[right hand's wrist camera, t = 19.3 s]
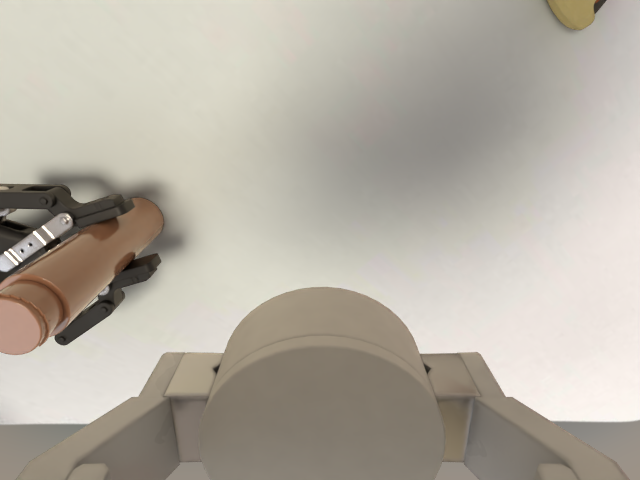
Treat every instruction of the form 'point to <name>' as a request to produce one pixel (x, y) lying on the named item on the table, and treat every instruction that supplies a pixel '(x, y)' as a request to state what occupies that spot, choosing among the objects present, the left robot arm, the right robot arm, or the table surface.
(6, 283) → the jar
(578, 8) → the toy gun
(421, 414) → the lid
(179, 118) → the table surface
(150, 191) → the table surface
